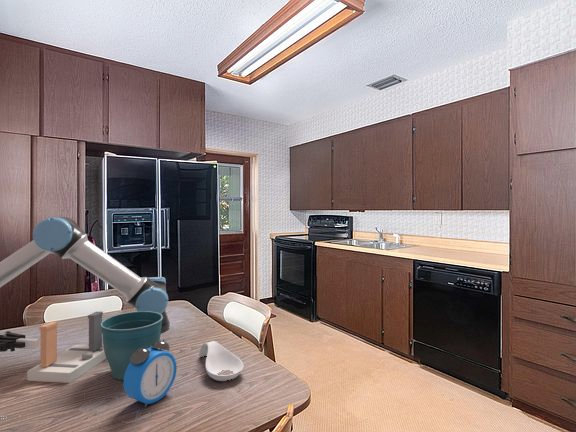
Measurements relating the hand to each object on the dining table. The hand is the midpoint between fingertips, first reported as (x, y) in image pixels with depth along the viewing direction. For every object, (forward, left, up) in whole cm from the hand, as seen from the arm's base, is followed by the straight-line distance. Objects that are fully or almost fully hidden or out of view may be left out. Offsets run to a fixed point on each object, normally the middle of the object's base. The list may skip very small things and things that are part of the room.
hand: (36, 343), depth 102 cm
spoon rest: (-56, +11, -10) cm, 57 cm away
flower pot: (-29, +6, -10) cm, 31 cm away
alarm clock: (-37, +24, -10) cm, 45 cm away
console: (-9, -3, -10) cm, 14 cm away
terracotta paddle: (-4, +1, -6) cm, 7 cm away
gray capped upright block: (-14, -8, -6) cm, 17 cm away
